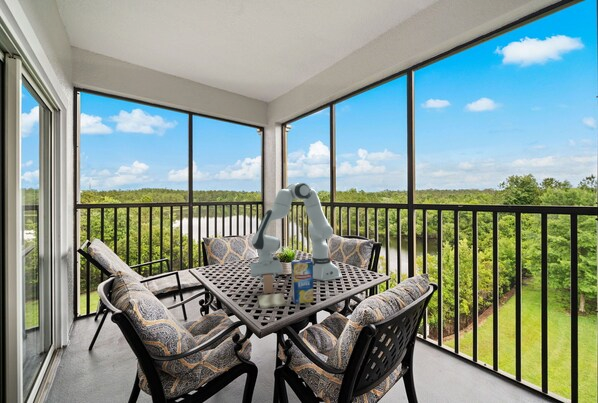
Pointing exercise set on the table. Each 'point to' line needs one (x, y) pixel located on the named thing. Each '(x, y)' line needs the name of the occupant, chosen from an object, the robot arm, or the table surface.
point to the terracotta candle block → (267, 283)
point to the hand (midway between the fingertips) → (268, 281)
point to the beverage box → (302, 281)
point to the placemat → (271, 300)
